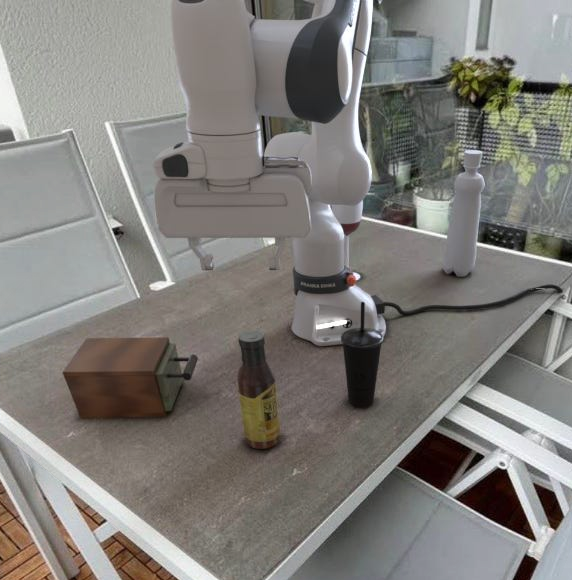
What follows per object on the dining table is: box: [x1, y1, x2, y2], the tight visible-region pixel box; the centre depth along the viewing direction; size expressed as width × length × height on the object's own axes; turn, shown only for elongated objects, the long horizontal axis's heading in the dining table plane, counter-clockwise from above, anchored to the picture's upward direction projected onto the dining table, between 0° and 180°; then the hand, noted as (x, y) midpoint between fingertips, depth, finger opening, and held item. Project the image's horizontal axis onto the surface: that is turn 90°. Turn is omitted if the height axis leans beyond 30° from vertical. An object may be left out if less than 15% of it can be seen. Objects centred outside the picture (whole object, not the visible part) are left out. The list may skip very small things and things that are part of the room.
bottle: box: [441, 149, 486, 278], centre depth 147 cm, size 9×9×30 cm
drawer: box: [155, 342, 199, 412], centre depth 104 cm, size 19×12×8 cm, turn 92°
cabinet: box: [62, 336, 171, 419], centre depth 104 cm, size 16×13×10 cm
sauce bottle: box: [237, 330, 281, 450], centre depth 91 cm, size 7×6×20 cm
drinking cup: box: [341, 302, 384, 409], centre depth 100 cm, size 8×8×20 cm
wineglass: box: [331, 199, 364, 281], centre depth 147 cm, size 8×9×20 cm
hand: (241, 269), depth 77 cm, fingers open, 8 cm apart
